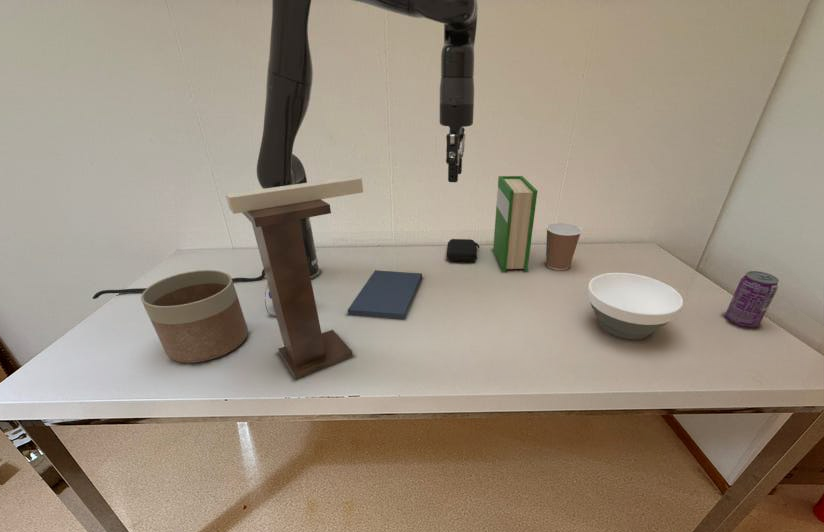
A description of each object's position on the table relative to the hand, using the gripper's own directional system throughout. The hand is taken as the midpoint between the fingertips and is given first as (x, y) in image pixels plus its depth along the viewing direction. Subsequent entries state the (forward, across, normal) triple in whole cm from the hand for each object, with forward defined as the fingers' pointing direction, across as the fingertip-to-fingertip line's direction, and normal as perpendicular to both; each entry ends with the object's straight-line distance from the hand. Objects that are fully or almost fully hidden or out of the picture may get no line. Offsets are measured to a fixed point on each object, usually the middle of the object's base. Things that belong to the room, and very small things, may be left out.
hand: (455, 177), depth 94 cm
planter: (+30, +34, -50) cm, 67 cm away
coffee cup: (+29, -18, +31) cm, 46 cm away
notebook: (+29, +8, -16) cm, 35 cm away
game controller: (+30, +18, -38) cm, 52 cm away
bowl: (+29, +15, +42) cm, 54 cm away
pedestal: (+29, +36, -25) cm, 52 cm away
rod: (-3, +33, -23) cm, 40 cm away
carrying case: (+30, -22, +1) cm, 37 cm away
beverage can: (+29, +8, +72) cm, 78 cm away
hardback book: (+30, -20, +16) cm, 39 cm away
